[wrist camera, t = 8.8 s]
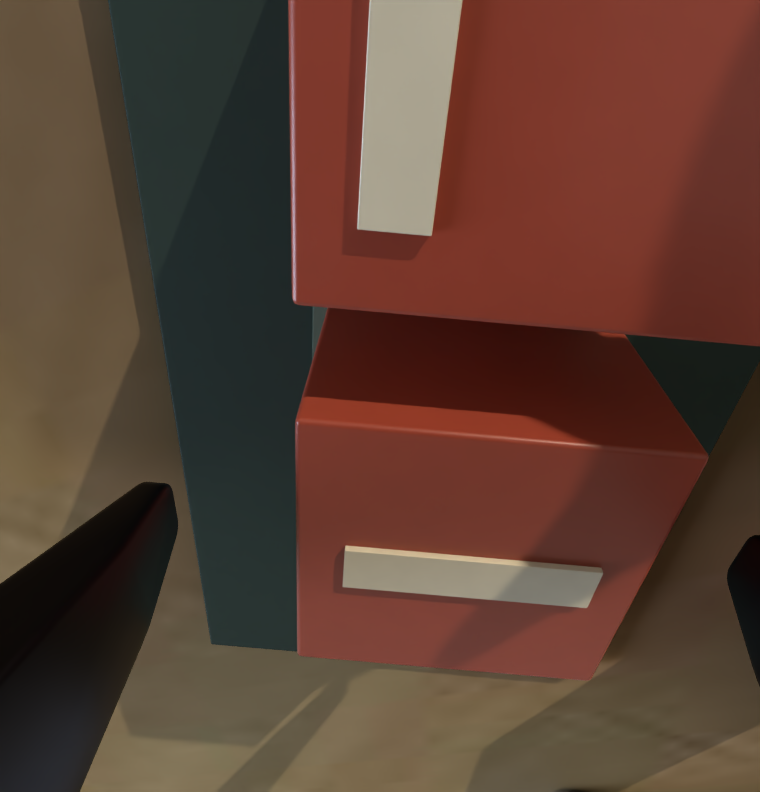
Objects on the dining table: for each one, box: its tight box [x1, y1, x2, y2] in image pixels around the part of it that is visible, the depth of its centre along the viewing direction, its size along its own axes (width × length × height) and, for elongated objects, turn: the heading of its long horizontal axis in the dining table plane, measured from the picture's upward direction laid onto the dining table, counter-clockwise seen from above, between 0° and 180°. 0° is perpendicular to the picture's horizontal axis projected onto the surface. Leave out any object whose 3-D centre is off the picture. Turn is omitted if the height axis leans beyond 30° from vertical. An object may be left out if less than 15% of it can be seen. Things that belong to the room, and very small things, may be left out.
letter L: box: [288, 0, 760, 346], centre depth 6 cm, size 5×5×5 cm
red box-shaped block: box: [295, 308, 708, 681], centre depth 10 cm, size 5×5×5 cm
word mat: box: [108, 0, 760, 651], centre depth 12 cm, size 20×12×1 cm, turn 176°
